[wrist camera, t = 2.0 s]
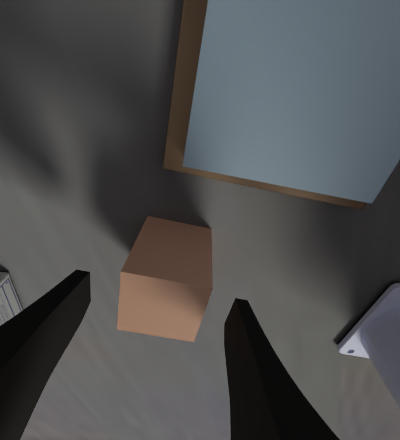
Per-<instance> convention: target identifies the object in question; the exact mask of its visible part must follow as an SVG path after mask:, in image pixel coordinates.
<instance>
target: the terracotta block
mask: <svg viewBox="0 0 400 440" xmlns="http://www.w3.org/2000/svg"><path fill="white" fill-rule="evenodd" d="M211 292H212V239H211V229H209V228H205V227H200V226H195V225H190V224H185V223H180V222H176V221H171V220H166V219H161V218H156V217H151V216H147V218H146V220H145V222H144V224H143V227H142V229H141V231H140V233H139V235H138V237H137V239H136V241H135V243H134V245H133V247H132V250H131V252H130V254H129V256H128V258H127V260H126V262H125V264H124V266H123V268H122V270H121V278H120V293H119V308H118V323H117V330H124V331H130V332H136V333H142V334H148V335H154V336H160V337H166V338H172V339H178V340H184V341H190V342H194V340H195V338H196V335H197V332H198V329H199V326H200V323H201V320H202V317H203V315H204V312H205V309H206V306H207V303H208V300H209V297H210V294H211Z"/></svg>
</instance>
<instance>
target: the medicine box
mask: <svg viewBox="0 0 400 440" xmlns="http://www.w3.org/2000/svg"><path fill="white" fill-rule="evenodd" d="M21 311H23V309H22V307H21V304H20V302H19V299H18V296H17V294H16V291H15V289H14V286H13V284H12V281H11V279H10V275H9V273H7V272H0V325H2V324H3V323H5V322H6V321H8V320H10V319H11V318H12V317H14V316H15V315H17V314H18V313H20V312H21Z"/></svg>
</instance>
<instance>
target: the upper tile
mask: <svg viewBox="0 0 400 440" xmlns="http://www.w3.org/2000/svg"><path fill="white" fill-rule="evenodd" d="M399 160H400V0H208V4H207V11H206V17H205V24H204V30H203V37H202V43H201V50H200V56H199V63H198V69H197V75H196V82H195V88H194V95H193V101H192V108H191V114H190V121H189V127H188V134H187V140H186V146H185V153H184V159H183V167H189V168H194V169H199V170H204V171H209V172H214V173H219V174H224V175H229V176H234V177H239V178H244V179H249V180H254V181H259V182H265V183H270V184H275V185H280V186H285V187H290V188H295V189H300V190H305V191H310V192H315V193H320V194H325V195H330V196H335V197H341V198H346V199H351V200H356V201H361V202H366V203H371V204H372V203H373V201H374V200H375V198H376V197H377V195H378V193H379V192H380V190H381V189H382V187H383V186H384V184H385V182H386V181H387V179H388V178H389V176H390V174H391V173H392V171H393V170H394V168H395V166H396V165H397V163H398V162H399Z"/></svg>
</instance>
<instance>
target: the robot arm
mask: <svg viewBox="0 0 400 440" xmlns="http://www.w3.org/2000/svg"><path fill="white" fill-rule="evenodd" d="M90 301H91V296H90V272H87V271H81V270H76V271H74V272H73V273H72V274H70V275H69V276H68V277H67V278H65V279H64V280H63V281H62V282H60V283H59V284H58V285H56V286H55V287H54V288H53V289H51V290H50V291H49V292H47V293H46V294H45V295H43V296H42V297H41V298H39V299H38V300H37V301H35V302H34V303H33V304H31V305H30V306H28V307H27V308H26V309H24V310H23V311H21V312H20V313H18V314H17V315H15V316H14V317H12V318H11V319H10V320H8V321H6V322H5V323H3V324H2V325H0V440H20V438H21V436H22V434H23V432H24V430H25V427H26V425H27V423H28V421H29V419H30V417H31V414H32V412H33V410H34V408H35V406H36V404H37V402H38V400H39V397H40V395H41V393H42V391H43V389H44V387H45V385H46V383H47V381H48V379H49V377H50V375H51V373H52V372H53V370H54V368H55V366H56V365H57V363H58V361H59V360H60V358H61V356H62V354H63V353H64V351H65V349H66V348H67V346H68V344H69V343H70V341H71V339H72V337H73V336H74V334H75V332H76V330H77V329H78V327H79V325H80V323H81V322H82V319H83V317H84V315H85V313H86V311H87V308H88V306H89V304H90ZM224 346H225V357H226V367H227V376H228V386H229V396H230V417H231V440H339V438H338V437H337V436H336V435H335V434H334V433H333V432H332V430H331V429H330V428H329V427H328V426H327V424H326V423H325V422H324V421H323V419H322V418H321V417H320V416H319V414H318V413H317V412H316V411H315V409H314V408H313V407H312V406H311V404H310V403H309V402H308V400H307V399H306V398H305V396H304V395H303V394H302V392H301V391H300V390H299V388H298V387H297V385H296V384H295V382H294V381H293V380H292V378H291V377H290V375H289V374H288V372H287V371H286V369H285V368H284V366H283V364H282V363H281V361H280V360H279V358H278V356H277V355H276V353H275V351H274V350H273V348H272V346H271V344H270V343H269V341H268V339H267V337H266V335H265V334H264V332H263V330H262V328H261V326H260V324H259V322H258V320H257V318H256V316H255V314H254V312H253V310H252V308H251V306H250V304H249V302H248V301H247V300H243V299H237V298H235V301H234V303H233V305H232V308H231V310H230V312H229V315H228V317H227V319H226V322H225V327H224ZM337 349H338V351H339V352H340V353H342V354H348V355H353V356H359V357H365V358H370V359H371V361H372V363H373V364H374V366H375V368H376V369H377V371H378V373H379V374H380V376H381V378H382V380H383V381H384V383H385V385H386V386H387V388H388V390H389V391H390V393H391V395H392V396H393V398H394V400H395V401H396V403H397V405H398V406H399V408H400V283H395V284H392V285H391V286H389V288H388V289H387V290H386V291H385V292H384V293H383V294H382V296H381V297H380V298H379V299H378V300H377V301H376V302H375V303H374V305H373V306H372V307H371V308H370V309H369V310H368V311H367V313H366V314H365V315H364V316H363V317H362V318H361V319H360V320H359V322H358V323H357V324H356V325H355V326H354V327H353V328H352V330H351V331H350V332H349V333H348V334H347V335H346V336H345V338H344V339H343V340H342V341H341V342H340V343H339V344H338V346H337Z"/></svg>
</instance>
